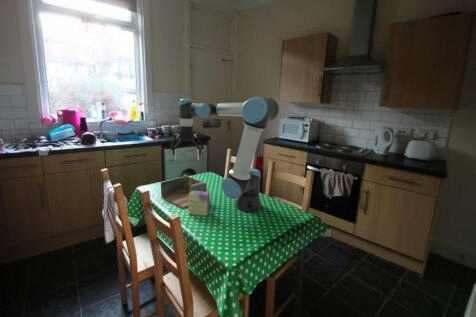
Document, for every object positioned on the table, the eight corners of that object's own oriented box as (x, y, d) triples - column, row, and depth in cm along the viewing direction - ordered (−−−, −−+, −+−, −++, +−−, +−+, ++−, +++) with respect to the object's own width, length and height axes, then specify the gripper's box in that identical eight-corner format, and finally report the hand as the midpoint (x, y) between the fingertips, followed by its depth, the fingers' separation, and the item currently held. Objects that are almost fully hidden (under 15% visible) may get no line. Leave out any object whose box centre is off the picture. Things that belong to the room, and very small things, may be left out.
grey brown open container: (206, 200, 157) (206, 181, 154) (182, 208, 143) (182, 188, 141) (185, 190, 171) (184, 173, 168) (161, 197, 158) (160, 178, 155)
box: (209, 211, 142) (209, 191, 139) (207, 215, 137) (207, 195, 134) (191, 209, 143) (191, 190, 140) (188, 214, 138) (188, 193, 135)
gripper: (207, 125, 157) (206, 158, 161) (165, 124, 151) (166, 159, 156) (208, 126, 149) (208, 161, 154) (164, 126, 144) (165, 162, 149)
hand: (187, 160), depth 155 cm, fingers open, 13 cm apart
